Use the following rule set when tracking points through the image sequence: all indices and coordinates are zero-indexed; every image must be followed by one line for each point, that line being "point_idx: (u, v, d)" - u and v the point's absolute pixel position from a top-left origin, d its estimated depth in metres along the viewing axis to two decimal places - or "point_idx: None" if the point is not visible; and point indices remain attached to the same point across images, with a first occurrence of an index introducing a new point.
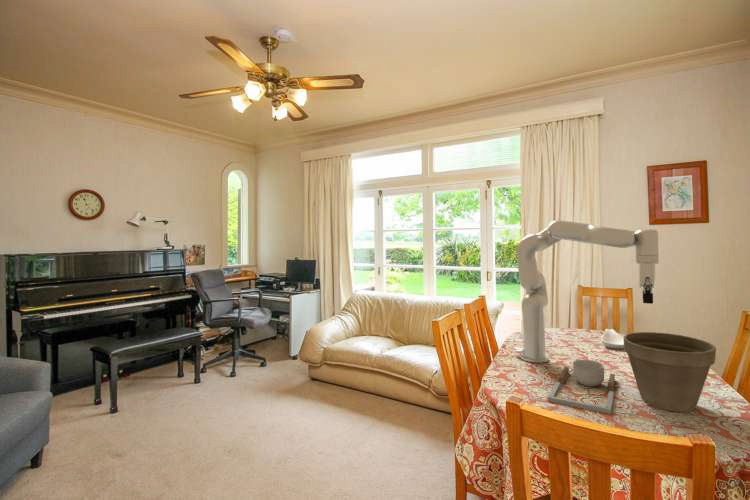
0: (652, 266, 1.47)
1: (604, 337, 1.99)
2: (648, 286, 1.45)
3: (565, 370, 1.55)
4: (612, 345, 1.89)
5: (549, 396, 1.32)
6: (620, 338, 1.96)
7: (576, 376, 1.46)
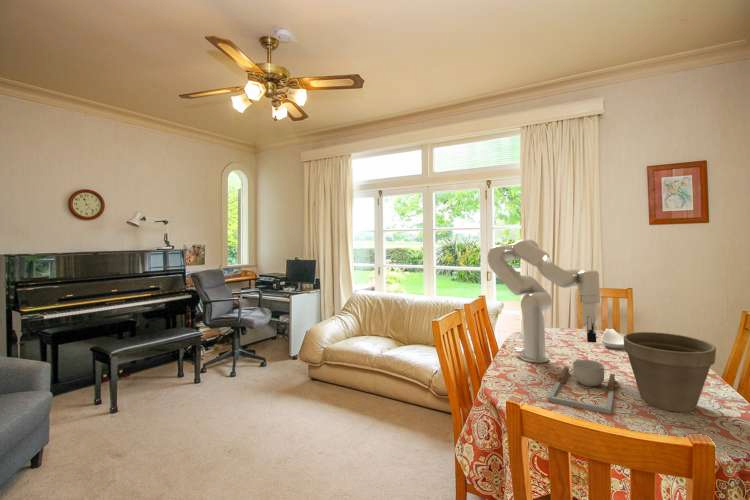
0: (593, 306, 1.54)
1: (604, 337, 1.99)
2: (590, 330, 1.55)
3: (565, 370, 1.55)
4: (612, 345, 1.90)
5: (549, 396, 1.32)
6: (620, 338, 1.96)
7: (576, 376, 1.46)
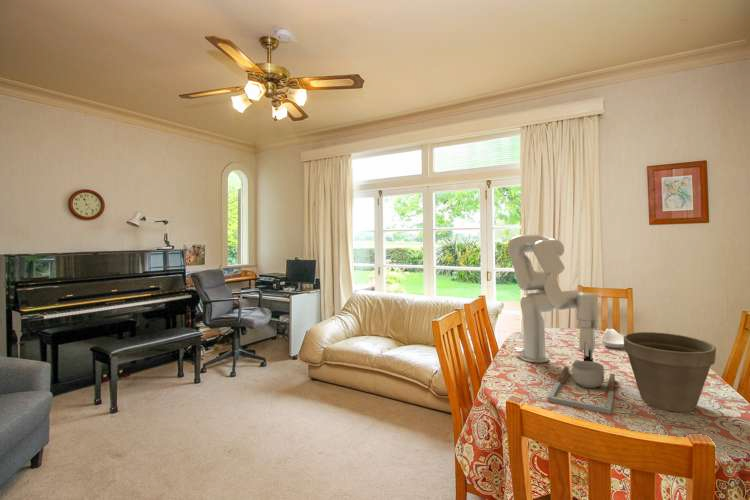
0: (591, 331, 1.47)
1: (604, 336, 2.00)
2: (587, 356, 1.48)
3: (565, 370, 1.55)
4: (611, 344, 1.90)
5: (549, 396, 1.32)
6: (620, 338, 1.97)
7: (576, 378, 1.44)
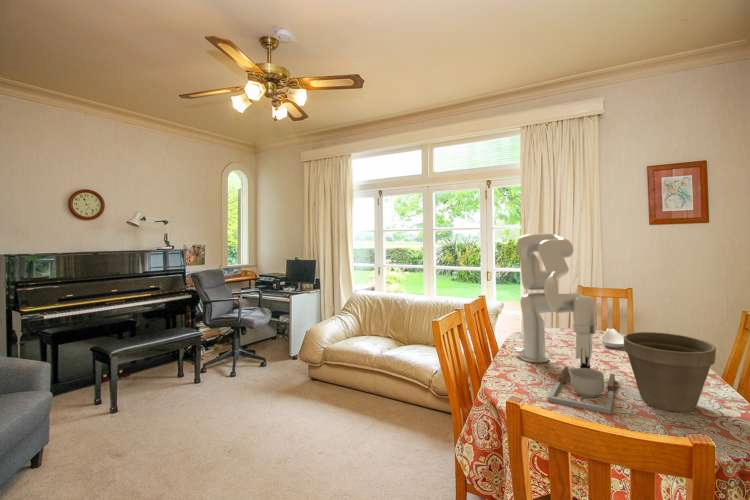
0: (588, 337, 1.39)
1: (604, 336, 2.00)
2: (584, 363, 1.40)
3: (565, 370, 1.55)
4: (611, 344, 1.91)
5: (549, 396, 1.32)
6: (620, 337, 1.97)
7: (576, 387, 1.35)
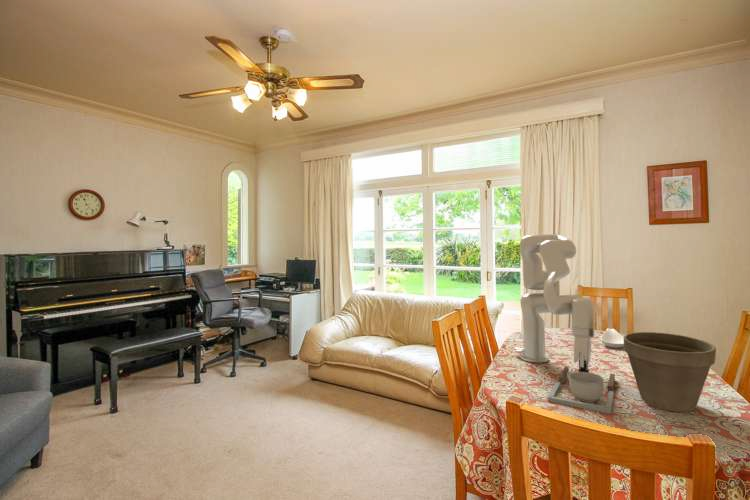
0: (586, 340, 1.35)
1: (604, 336, 2.00)
2: (582, 367, 1.36)
3: (565, 370, 1.55)
4: (611, 344, 1.91)
5: (549, 396, 1.32)
6: (620, 337, 1.97)
7: (575, 392, 1.31)
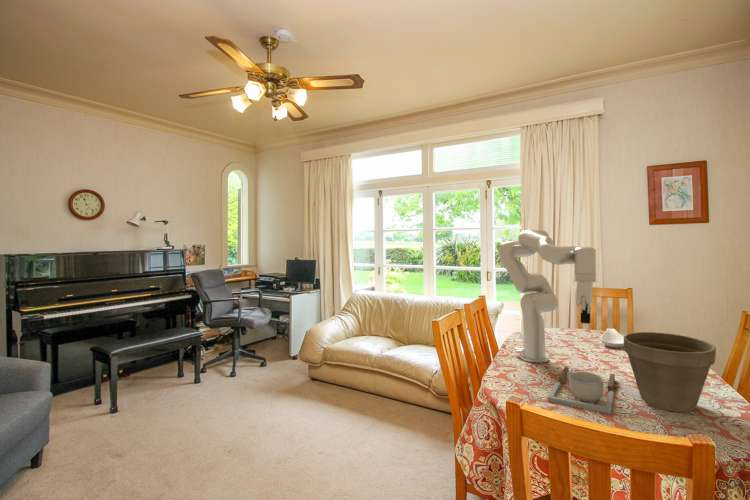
0: (588, 285, 1.45)
1: (604, 336, 2.01)
2: (584, 310, 1.46)
3: (565, 370, 1.55)
4: (610, 344, 1.91)
5: (549, 396, 1.32)
6: (620, 337, 1.97)
7: (575, 392, 1.31)
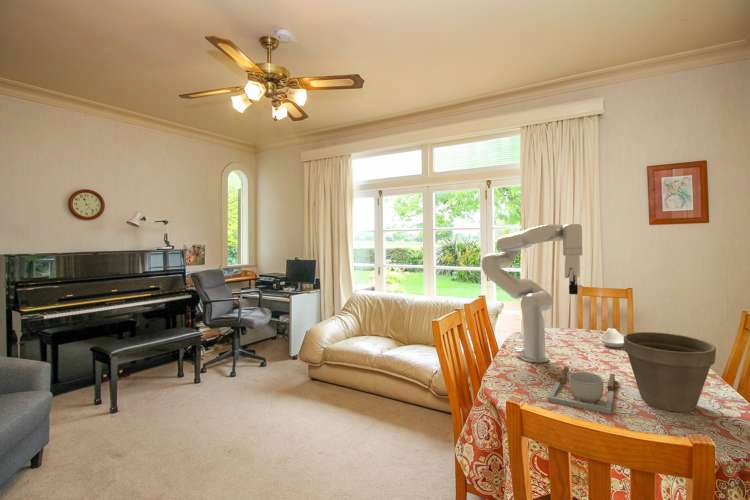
0: (575, 258, 1.58)
1: (604, 336, 2.01)
2: (572, 281, 1.59)
3: (565, 370, 1.55)
4: (609, 344, 1.92)
5: (549, 396, 1.32)
6: (620, 337, 1.97)
7: (575, 392, 1.31)
